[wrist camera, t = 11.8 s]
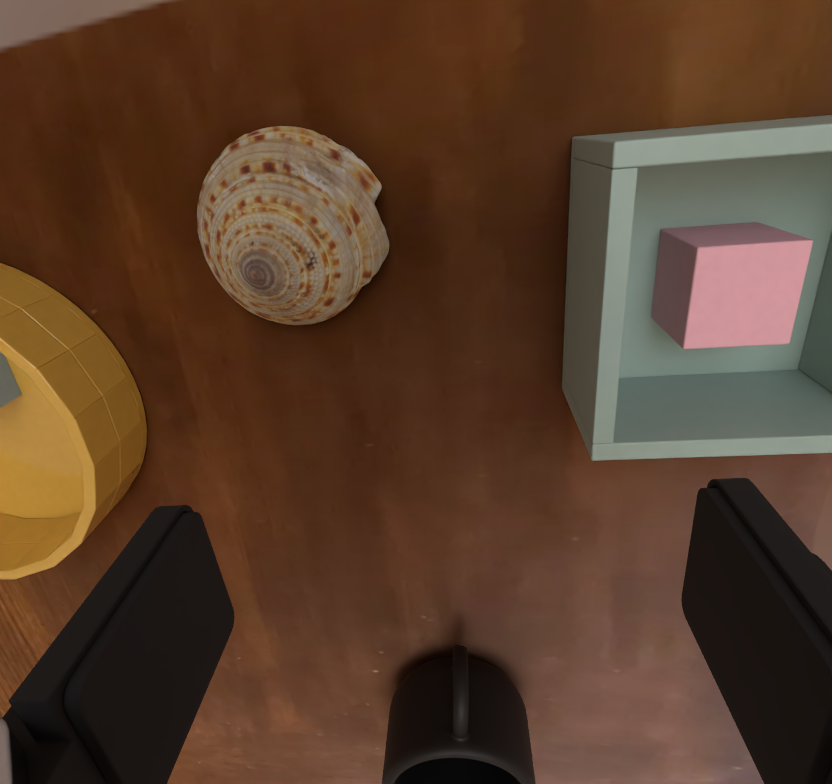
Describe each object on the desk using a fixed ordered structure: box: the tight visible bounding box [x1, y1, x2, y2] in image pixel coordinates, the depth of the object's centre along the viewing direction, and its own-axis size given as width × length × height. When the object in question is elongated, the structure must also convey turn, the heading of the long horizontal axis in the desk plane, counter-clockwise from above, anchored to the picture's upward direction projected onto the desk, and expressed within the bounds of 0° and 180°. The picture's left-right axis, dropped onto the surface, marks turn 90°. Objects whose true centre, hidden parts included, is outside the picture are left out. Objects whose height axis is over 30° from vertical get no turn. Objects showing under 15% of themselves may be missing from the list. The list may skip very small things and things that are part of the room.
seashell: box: [197, 126, 389, 325], centre depth 24 cm, size 8×6×8 cm
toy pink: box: [651, 222, 813, 349], centre depth 22 cm, size 4×4×4 cm
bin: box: [562, 115, 832, 461], centre depth 22 cm, size 12×12×7 cm
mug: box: [382, 645, 535, 784], centre depth 34 cm, size 12×9×7 cm
